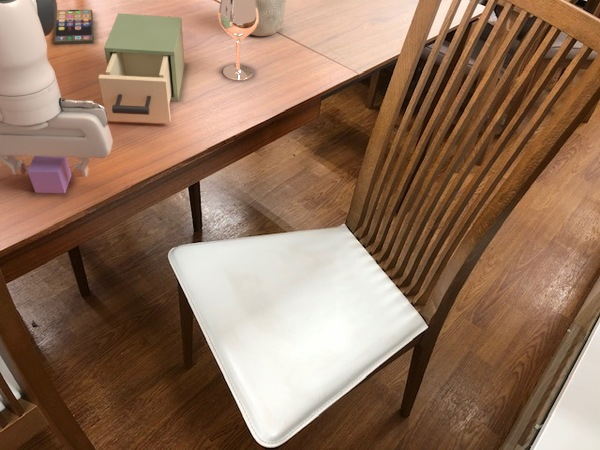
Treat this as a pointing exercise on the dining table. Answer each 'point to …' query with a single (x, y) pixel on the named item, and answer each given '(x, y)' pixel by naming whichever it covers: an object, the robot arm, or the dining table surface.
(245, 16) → the wineglass
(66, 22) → the smartphone
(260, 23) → the planter
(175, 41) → the green drawer cabinet
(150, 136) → the dining table surface
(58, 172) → the purple cube
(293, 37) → the dining table surface
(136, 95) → the cream drawer
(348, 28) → the dining table surface
